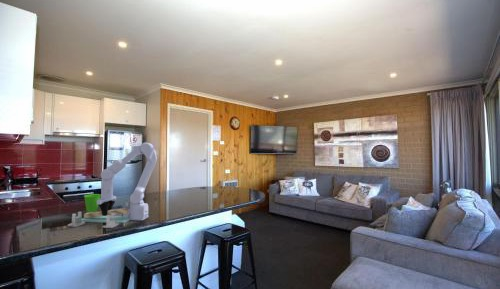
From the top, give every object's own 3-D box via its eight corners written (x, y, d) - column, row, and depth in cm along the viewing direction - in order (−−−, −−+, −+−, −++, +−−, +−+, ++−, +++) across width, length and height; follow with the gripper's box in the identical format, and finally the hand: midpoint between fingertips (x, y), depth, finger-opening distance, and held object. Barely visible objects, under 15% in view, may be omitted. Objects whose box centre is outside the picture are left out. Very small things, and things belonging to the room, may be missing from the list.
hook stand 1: (85, 223, 131) (85, 211, 131) (77, 226, 125) (77, 214, 125) (76, 223, 131) (76, 211, 131) (67, 226, 125) (68, 214, 125)
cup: (92, 215, 146) (92, 197, 146) (79, 214, 148) (79, 196, 148) (103, 212, 155) (104, 194, 155) (91, 211, 157) (92, 193, 157)
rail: (128, 212, 139) (127, 207, 139) (126, 213, 137) (125, 209, 137) (87, 217, 140) (86, 212, 140) (84, 218, 138) (83, 214, 138)
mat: (133, 218, 143) (133, 216, 143) (124, 223, 133) (124, 221, 133) (89, 216, 144) (89, 215, 144) (77, 221, 134) (77, 220, 134)
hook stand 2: (118, 224, 130) (119, 212, 130) (111, 228, 124) (112, 215, 124) (109, 224, 130) (109, 212, 131) (102, 227, 124) (102, 215, 125)
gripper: (108, 188, 146) (107, 211, 146) (91, 192, 132) (90, 218, 131) (119, 188, 146) (119, 211, 145) (104, 192, 131) (103, 218, 131)
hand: (106, 214), depth 138 cm, fingers closed on rail, 2 cm apart
